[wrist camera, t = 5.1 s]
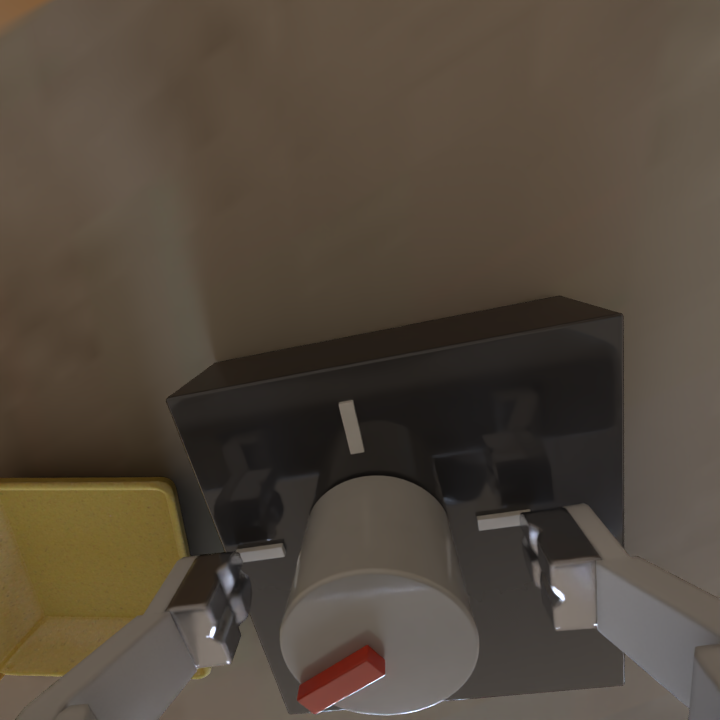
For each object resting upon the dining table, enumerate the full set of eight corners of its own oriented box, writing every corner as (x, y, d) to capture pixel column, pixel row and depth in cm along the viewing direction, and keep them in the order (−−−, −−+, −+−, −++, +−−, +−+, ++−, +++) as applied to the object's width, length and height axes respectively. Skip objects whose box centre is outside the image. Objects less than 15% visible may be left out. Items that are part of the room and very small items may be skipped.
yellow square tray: (201, 448, 13) (169, 484, 11) (232, 628, 16) (211, 684, 14) (-30, 447, 14) (-100, 482, 12) (38, 622, 16) (-10, 676, 14)
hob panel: (576, 598, 14) (629, 692, 11) (304, 629, 16) (287, 722, 13) (560, 294, 11) (630, 314, 8) (213, 362, 12) (159, 401, 9)
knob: (385, 445, 9) (390, 548, 6) (481, 544, 10) (528, 679, 7) (276, 528, 10) (231, 654, 7) (371, 613, 11) (368, 760, 8)
